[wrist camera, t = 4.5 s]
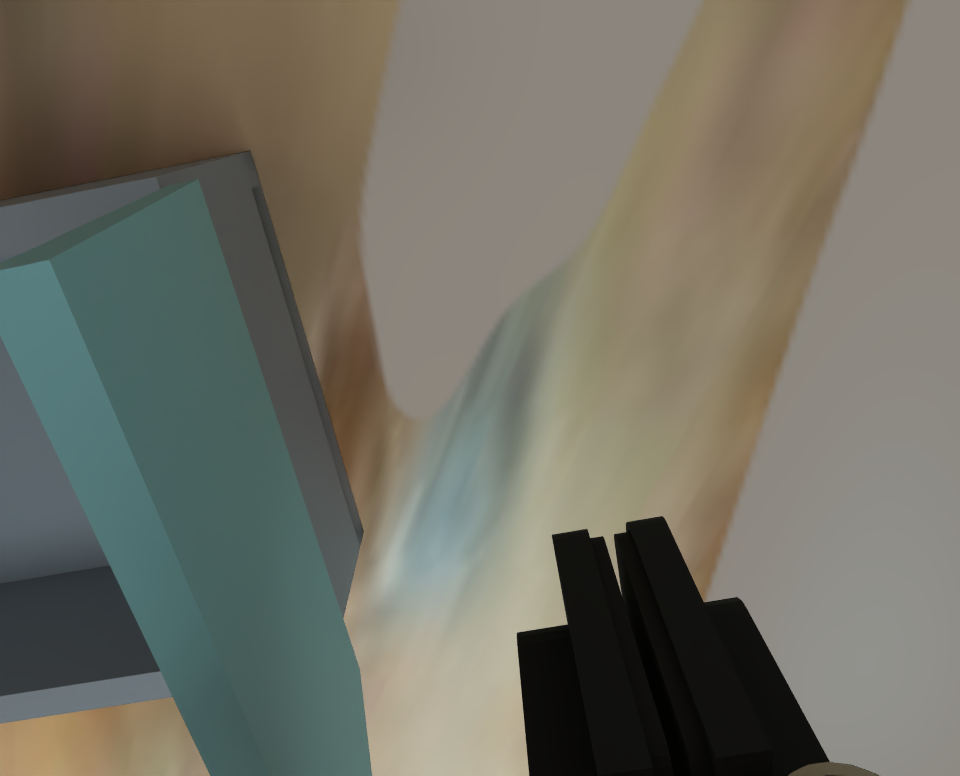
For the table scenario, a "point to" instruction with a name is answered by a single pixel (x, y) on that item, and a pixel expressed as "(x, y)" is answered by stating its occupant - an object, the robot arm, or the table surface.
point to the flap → (189, 482)
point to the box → (54, 504)
